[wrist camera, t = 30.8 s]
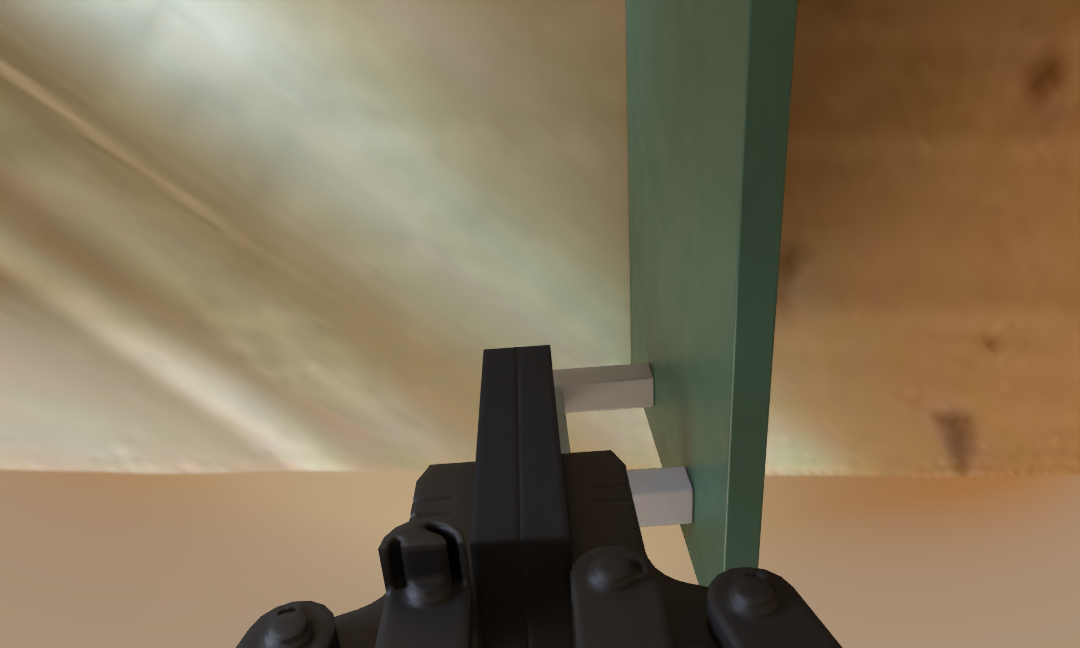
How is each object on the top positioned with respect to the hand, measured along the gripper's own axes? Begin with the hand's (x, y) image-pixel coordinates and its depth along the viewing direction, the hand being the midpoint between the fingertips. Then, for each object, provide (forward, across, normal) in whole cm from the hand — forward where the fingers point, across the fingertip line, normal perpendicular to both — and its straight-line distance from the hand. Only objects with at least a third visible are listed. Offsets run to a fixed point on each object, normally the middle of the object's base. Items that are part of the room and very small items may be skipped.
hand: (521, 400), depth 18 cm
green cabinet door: (+20, +3, +1) cm, 20 cm away
